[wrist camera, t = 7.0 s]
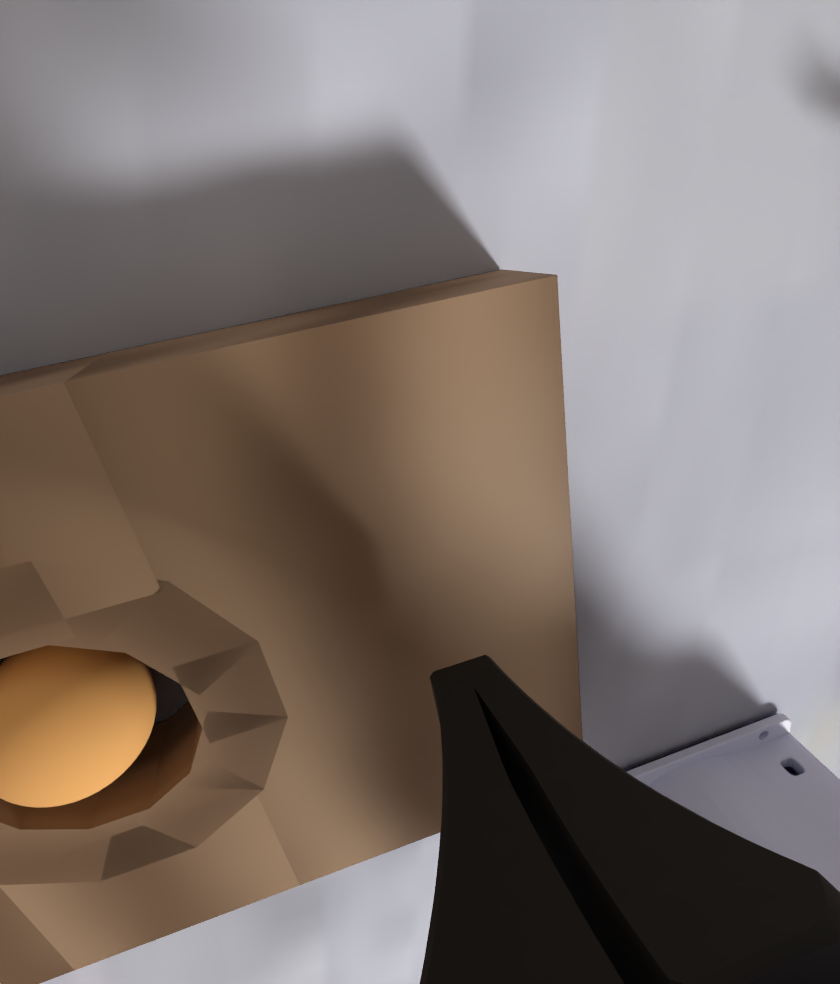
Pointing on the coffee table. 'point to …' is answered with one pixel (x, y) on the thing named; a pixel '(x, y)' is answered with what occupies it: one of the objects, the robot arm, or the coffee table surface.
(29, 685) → the ball
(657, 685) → the coffee table surface
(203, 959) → the coffee table surface
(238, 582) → the board
